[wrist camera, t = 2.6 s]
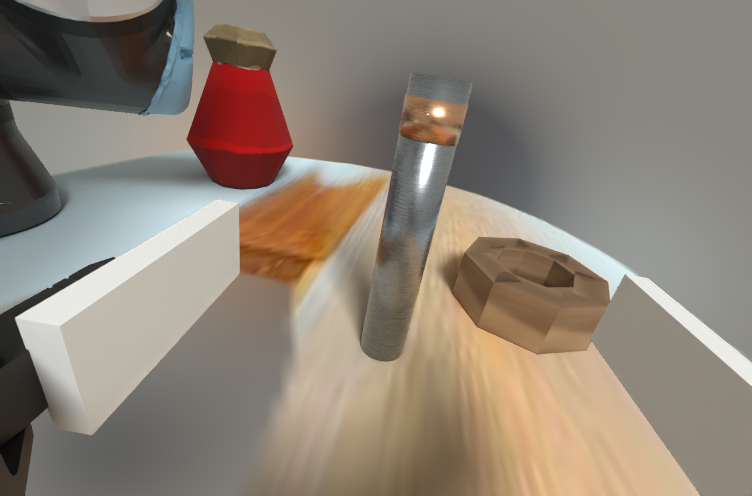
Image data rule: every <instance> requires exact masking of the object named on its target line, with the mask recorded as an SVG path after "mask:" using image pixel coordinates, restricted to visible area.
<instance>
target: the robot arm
mask: <svg viewBox="0 0 752 496" xmlns="http://www.w3.org/2000/svg"><path fill="white" fill-rule="evenodd" d="M193 44H194V1H193V0H0V236H3V235H7V234H11V233H14V232H18V231H21V230H24V229H27V228H30V227H32V226H35V225H37V224H40V223H42V222H44V221H46V220H48V219H49V218H51V217H52V216H54V215H55V214H56V213H57V212H58V211H59V210H60V208H61V200H60V196H59V192H58V188H57V185H56V183H55V181H54V180H53V178H52V177H51V176H50V174H49V173H48V171H47V170H46V168H45V167H44V165H43V164H42V163H41V161H40V160H39V158H38V157H37V155H36V154H35V153H34V151H33V150H32V148H31V147H30V146H29V144H28V143H27V141H26V140H25V139H24V137H23V136H22V134H21V133H20V131H19V130H18V128H17V126H16V123H15V120H14V116H13V113H12V109H11V106H10V102H9V100H15V101H24V102H25V101H28V102H36V103H45V104H54V105H64V106H72V107H80V108H90V109H98V110H107V111H116V112H125V113H134V114H139V115H143V116H146V115H149V114H163V115H176V114H180V113H182V112H183V111H184V110H185V109H186V108H187V107H188V104H189V101H190V96H191V87H192V74H193V58H192V54H193ZM239 273H240V263H239V203H234V202H229V201H223V200H218V199H216V200H214V201H213V202H211V203H209V204H208V205H206V206H204V207H203V208H201V209H199V210H197V211H196V212H194V213H192V214H191V215H189V216H187V217H185V218H184V219H182V220H180V221H179V222H177V223H175V224H174V225H172V226H170V227H168V228H167V229H165V230H163V231H162V232H160V233H158V234H157V235H155V236H153V237H151V238H150V239H148V240H146V241H145V242H143V243H141V244H139V245H138V246H136V247H134V248H133V249H131V250H129V251H128V252H126V253H124V254H122V255H121V256H119V257H117V258H114V257H112V258H109V259H106V260H103V261H100V262H97V263H94V264H91V265H88V266H86V267H84V268H83V269H81V270H79V271H77V272H76V273H74V274H72V275H70V276H69V278H68V279H66V278H65V279H63V280H61V281H59V282H58V283H56V284H54V285H52V288H47V289H45V290H43V291H41V292H40V293H38V294H36V295H34V296H33V297H31V298H29V299H27V300H25V301H24V302H22V303H20V304H18V305H16V306H15V307H13V308H11V309H9V310H7V311H6V312H4V313H2V314H1V315H0V496H25V491H26V484H27V477H28V470H29V464H30V457H31V450H32V443H33V430H32V426H31V424H30V423H31V422H32V421H33V420H34V419H35V418H36V417H38V416H39V415H40V414H41V413H42V412H43V411H44V410H45V409H46V408H48V411H49V413H50V416H51V419H52V422H53V425H54V427H55V428H56V429H62V430H67V431H73V432H77V433H82V434H88V435H93V434H94V433H95V431H96V430H97V429H98V428H99V427H100V426H101V425H102V424H103V423H104V422H105V421H106V419H107V418H108V417H109V416H110V415H111V414H112V413H113V412H114V411H115V410H116V408H117V407H118V406H119V405H120V404H121V403H122V402H123V401H124V400H125V398H127V396H128V395H129V394H130V393H131V392H132V391H133V390H134V389H135V388H136V387H137V385H138V384H139V383H140V382H141V381H142V380H143V379H144V378H145V377H146V376H147V374H148V373H149V372H150V371H151V370H152V369H153V368H154V367H155V366H156V365H157V363H158V362H159V361H160V360H161V359H162V358H163V357H164V356H165V355H166V354H167V353H168V351H169V350H170V349H171V348H172V347H173V346H174V345H175V344H176V343H177V342H178V340H179V339H180V338H181V337H182V336H183V335H184V334H185V333H186V332H187V331H188V329H189V328H190V327H191V326H192V325H193V324H194V323H195V322H196V321H197V320H198V318H199V317H200V316H201V315H202V314H203V313H204V312H205V311H206V310H207V309H208V307H209V306H210V305H211V304H212V303H213V302H214V301H215V300H216V299H217V298H218V297H219V295H220V294H221V293H222V292H223V291H224V290H225V289H226V288H227V287H228V286H229V284H230V283H231V282H232V281H233V280H234V279H235V278H236V277H237V276H238V275H239ZM590 339H591V341H592V342H593V344H594V345H595V347H596V348H597V349H598V351H599V352H600V354H601V355H602V356H603V358H604V359H605V361H606V362H607V364H608V365H609V366H610V368H611V369H612V371H613V372H614V374H615V375H616V376H617V378H618V379H619V381H620V382H621V383H622V385H623V386H624V388H625V389H626V391H627V392H628V393H629V395H630V396H631V398H632V399H633V400H634V402H635V403H636V405H637V406H638V408H639V409H640V410H641V412H642V413H643V415H644V416H645V417H646V419H647V420H648V422H649V423H650V425H651V426H652V427H653V429H654V430H655V432H656V433H657V434H658V436H659V437H660V439H661V440H662V442H663V443H664V444H665V446H666V447H667V449H668V450H669V452H670V453H671V454H672V456H673V457H674V459H675V460H676V461H677V463H678V464H679V466H680V467H681V469H682V470H683V471H684V473H685V474H686V476H687V477H688V478H689V480H690V481H691V483H692V484H693V486H694V487H695V488H696V490H697V491H698V493H699V494H700V495H701V496H752V363H751V362H750V361H748V360H747V359H746V358H745V357H744V356H742V355H741V354H740V353H739V352H737V351H736V350H735V349H734V348H732V347H731V346H730V345H729V344H728V343H726V342H725V341H724V340H723V339H721V338H720V337H719V336H718V335H717V334H715V333H714V332H713V331H712V330H710V329H709V328H708V327H707V326H706V325H704V324H703V323H702V322H701V321H699V320H698V319H697V318H696V317H695V316H693V315H692V314H691V313H690V312H688V311H687V310H686V309H685V308H683V307H682V306H681V305H680V304H679V303H677V302H676V301H675V300H674V299H672V298H671V297H670V296H669V295H668V294H666V293H665V292H664V291H663V290H661V289H660V288H659V287H658V286H657V285H655V284H654V283H653V282H652V281H650V280H649V279H648V278H643V277H637V276H632V275H626V274H625V275H624V277H623V279H622V281H621V282H620V284H619V286H618V288H617V290H616V292H615V293H614V295H613V297H612V299H611V301H610V303H609V304H608V306H607V308H606V310H605V312H604V314H603V315H602V317H601V319H600V321H599V323H598V325H597V327H596V328H595V330H594V332H593V334H592V336H591V338H590Z"/></svg>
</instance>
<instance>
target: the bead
mask: <svg viewBox="0 0 752 496" xmlns="http://www.w3.org/2000/svg"><path fill="white" fill-rule="evenodd" d="M452 293H453V295H454V296H455V297H456V299H457V300H458V301H459V303H460V304H461V305H462V307H463V308H464V309H465V311H466V312H467V313H468V315H469V316H470V317H471V319H472V320H473V321H474V323H475V324H476V325H477V327H479V328H481V329H484V330H486V331H488V332H490V333H492V334H495V335H497V336H499V337H501V338H503V339H506V340H508V341H510V342H512V343H514V344H517V345H519V346H521V347H523V348H525V349H528V350H530V351H532V352H534V353H536V354H545V353H558V352H571V351H584V350H587V348H588V346H589V345H590V343H591V339H590V338H591V336H592V334H593V332H594V330H595V328H596V327H597V325H598V323H599V321H600V319H601V317H602V315H603V314H604V312H605V310H606V308H607V306H608V304H609V303H610V296H609V286H608V282H607V281H606V280H604V279H603V278H601V277H600V276H598V275H597V274H595V273H594V272H592V271H591V270H589V269H588V268H586V267H585V266H584V265H582V264H581V263H579V262H578V261H576V260H575V259H573V258H572V257H570V256H569V255H566V254H563V253H560V252H557V251H554V250H551V249H548V248H545V247H542V246H539V245H536V244H534V243H531V242H528V241H525V240H522V239H516V238H493V237H478V239H477V240H476V241H475V242H474V243H473V244H472V245H471V246H470V247H469V248H468V250H467V251H466V252H465V253H464V256H463V260H462V263H461V266H460V269H459V272H458V276H457V279H456V282H455V285H454V288H453V292H452Z"/></svg>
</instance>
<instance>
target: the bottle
mask: <svg viewBox="0 0 752 496" xmlns="http://www.w3.org/2000/svg"><path fill="white" fill-rule="evenodd" d="M203 37H204V40H205V42H206V44H207V47H208V50H209V52H210V55H211V57H212V60H213V63H212V66H211V69H210V72H209V75H208V78H207V81H206V84H205V87H204V90H203V93H202V96H201V99H200V102H199V104H198V108H197V110H196V113H195V117H194V119H193V122H192V126H191V128H190V131H189V134H188V137H187V141H188V143H189V144H190V146H191V147H192V149H193V151H194V152H195V154H196V155H197V157H198V159H199V160H200V162H201V163H202V165H203V167H204V168H205V170H206V171H207V173H208V174H209V176H210V178H211V179H212V181H213V182H215V183H217V184H219V185H221V186H223V187H228V188H234V189H256V188H261V187H266V186H268V185H270V184H271V183H273V181H274V179H275V178H276V176H277V174H278V172H279V171H280V169H281V167H282V165H283V164H284V162H285V160H286V158H287V156H288V155H289V153H290V151H291V149H292V148H293V144H292V140H291V137H290V134H289V131H288V128H287V125H286V121H285V119H284V116H283V112H282V109H281V106H280V103H279V100H278V96H277V93H276V90H275V87H274V84H273V81H272V78H271V75H270V71H269V69H270V67H271V64H272V61H273V59H274V56H275V54H276V51H277V50H276V49H275V47H274V46H273V44H272V43H271V41H270V40H269V39H268V37H267V36H266V35H265V33H262V32H259V31H255V30H251V29H246V28H241V27H237V26H231V25H226V24H219V23H218V24H216V25H215V26H214V27H213V28H212V29H211V30H209V31H208V32H207V33H206V34H205V35H204V36H203Z"/></svg>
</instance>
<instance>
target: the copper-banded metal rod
mask: <svg viewBox="0 0 752 496" xmlns="http://www.w3.org/2000/svg"><path fill="white" fill-rule="evenodd" d="M471 88H472V83H469V82H465V81H460V80H454V79H449V78H444V77H438V76H432V75H427V74H421V73H414V72H411V74H410V79H409V84H408V90H407V93H406V95H405V101H404V106H403V111H402V117H401V122H400V128H399V138H398V143H397V149H396V154H395V159H394V165H393V170H392V176H391V181H390V186H389V192H388V197H387V202H386V208H385V213H384V219H383V224H382V229H381V235H380V240H379V245H378V251H377V256H376V261H375V267H374V272H373V278H372V283H371V288H370V294H369V299H368V304H367V310H366V315H365V321H364V326H363V331H362V337H361V342H360V343H361V348H362V350H363V351H364V352H365V353H366V354H367V355H368V356H369V357H371V358H373V359H376V360H379V361H392V360H395V359H397V358H399V357H400V356H401V354H402V352H403V349H404V345H405V341H406V337H407V334H408V330H409V326H410V322H411V318H412V314H413V311H414V307H415V303H416V299H417V295H418V291H419V288H420V284H421V280H422V276H423V272H424V268H425V265H426V261H427V257H428V253H429V249H430V245H431V242H432V238H433V234H434V230H435V226H436V222H437V218H438V215H439V211H440V207H441V203H442V199H443V195H444V192H445V188H446V184H447V180H448V176H449V172H450V169H451V165H452V160H453V157H454V153H455V149H456V146H457V144H458V141H459V138H460V134H461V130H462V126H463V123H464V119H465V115H466V111H467V107H468V104H467V103H468V100H469V96H470V92H471Z"/></svg>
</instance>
